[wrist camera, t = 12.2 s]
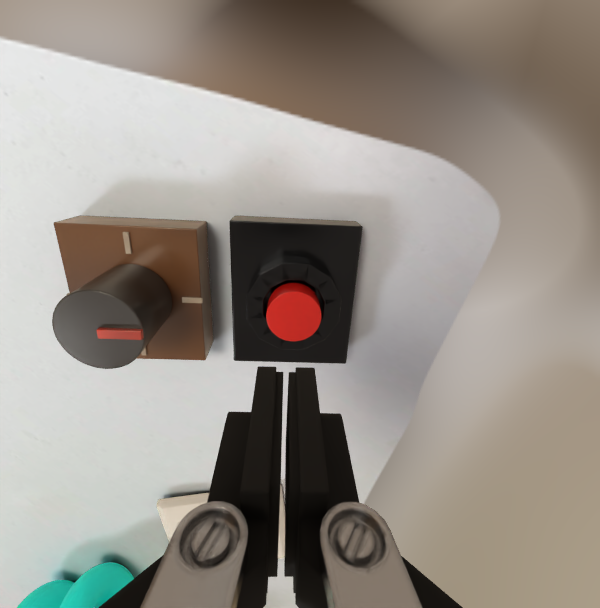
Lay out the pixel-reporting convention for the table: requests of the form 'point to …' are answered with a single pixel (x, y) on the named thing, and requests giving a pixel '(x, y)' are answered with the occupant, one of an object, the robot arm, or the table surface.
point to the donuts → (81, 589)
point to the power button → (293, 312)
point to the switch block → (292, 269)
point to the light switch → (181, 506)
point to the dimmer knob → (112, 316)
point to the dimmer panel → (157, 257)
